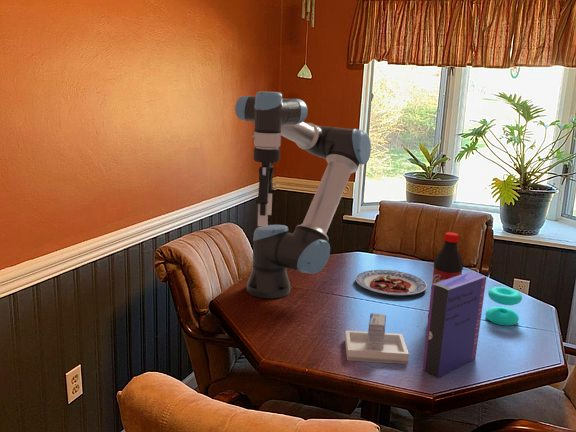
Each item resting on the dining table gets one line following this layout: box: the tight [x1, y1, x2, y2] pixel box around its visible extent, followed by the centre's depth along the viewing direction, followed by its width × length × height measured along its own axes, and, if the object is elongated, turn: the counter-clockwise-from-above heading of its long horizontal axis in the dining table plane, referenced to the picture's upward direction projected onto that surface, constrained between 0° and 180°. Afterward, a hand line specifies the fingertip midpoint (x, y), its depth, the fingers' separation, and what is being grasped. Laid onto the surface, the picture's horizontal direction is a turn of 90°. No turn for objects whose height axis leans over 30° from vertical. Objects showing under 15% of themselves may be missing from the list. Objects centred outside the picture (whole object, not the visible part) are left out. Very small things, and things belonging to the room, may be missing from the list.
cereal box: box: [421, 271, 487, 379], centre depth 147 cm, size 17×5×24 cm, turn 131°
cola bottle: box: [427, 232, 464, 316], centre depth 169 cm, size 8×8×30 cm
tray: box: [344, 330, 410, 365], centre depth 154 cm, size 12×16×3 cm
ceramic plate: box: [355, 269, 428, 296], centre depth 206 cm, size 26×26×3 cm
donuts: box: [485, 286, 523, 326], centre depth 179 cm, size 10×10×10 cm
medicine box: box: [367, 312, 387, 350], centre depth 154 cm, size 8×4×9 cm, turn 169°
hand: (264, 220), depth 164 cm, fingers open, 13 cm apart
